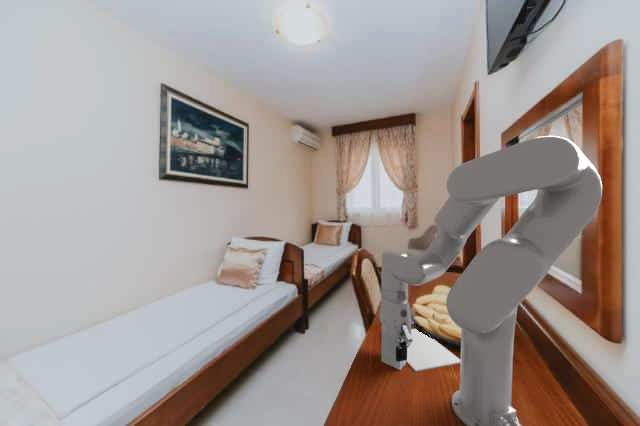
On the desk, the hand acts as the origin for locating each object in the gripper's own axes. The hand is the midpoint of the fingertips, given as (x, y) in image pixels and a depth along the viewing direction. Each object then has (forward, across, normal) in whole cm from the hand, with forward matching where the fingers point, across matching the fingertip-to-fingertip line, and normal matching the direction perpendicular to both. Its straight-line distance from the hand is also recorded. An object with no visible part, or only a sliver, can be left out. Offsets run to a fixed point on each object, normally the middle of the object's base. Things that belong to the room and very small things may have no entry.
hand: (393, 351), depth 73 cm
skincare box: (+4, 0, 0) cm, 4 cm away
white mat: (+3, +5, -12) cm, 13 cm away
